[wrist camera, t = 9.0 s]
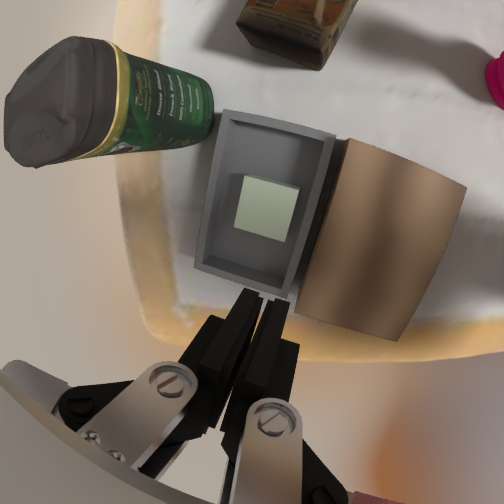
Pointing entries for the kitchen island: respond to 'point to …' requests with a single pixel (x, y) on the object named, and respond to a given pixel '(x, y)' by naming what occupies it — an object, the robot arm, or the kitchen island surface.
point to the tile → (266, 207)
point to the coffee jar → (101, 105)
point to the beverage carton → (296, 27)
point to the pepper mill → (496, 79)
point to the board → (378, 241)
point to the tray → (229, 190)
